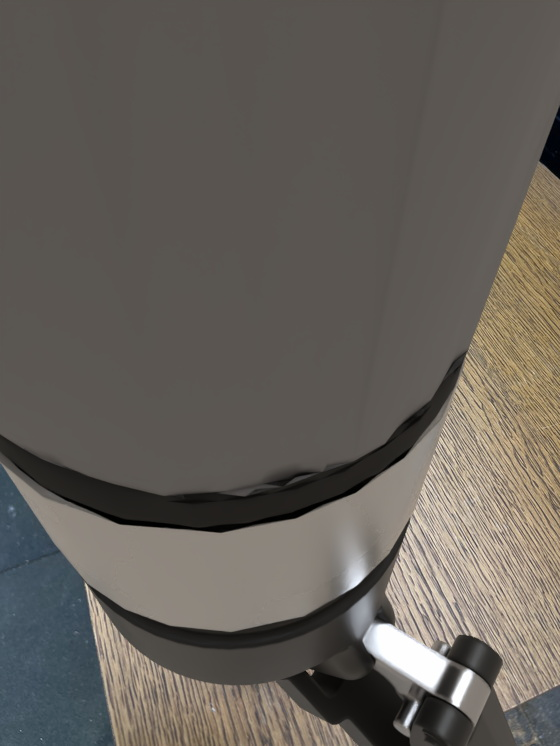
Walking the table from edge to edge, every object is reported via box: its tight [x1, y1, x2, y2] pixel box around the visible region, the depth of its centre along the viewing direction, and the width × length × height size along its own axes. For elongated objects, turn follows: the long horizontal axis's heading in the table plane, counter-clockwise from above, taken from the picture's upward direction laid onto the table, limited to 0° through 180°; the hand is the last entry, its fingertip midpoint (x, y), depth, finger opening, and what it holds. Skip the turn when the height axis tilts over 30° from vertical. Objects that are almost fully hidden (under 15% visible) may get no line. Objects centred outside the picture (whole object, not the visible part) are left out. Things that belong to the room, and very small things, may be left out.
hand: (262, 688), depth 30 cm, fingers open, 13 cm apart
